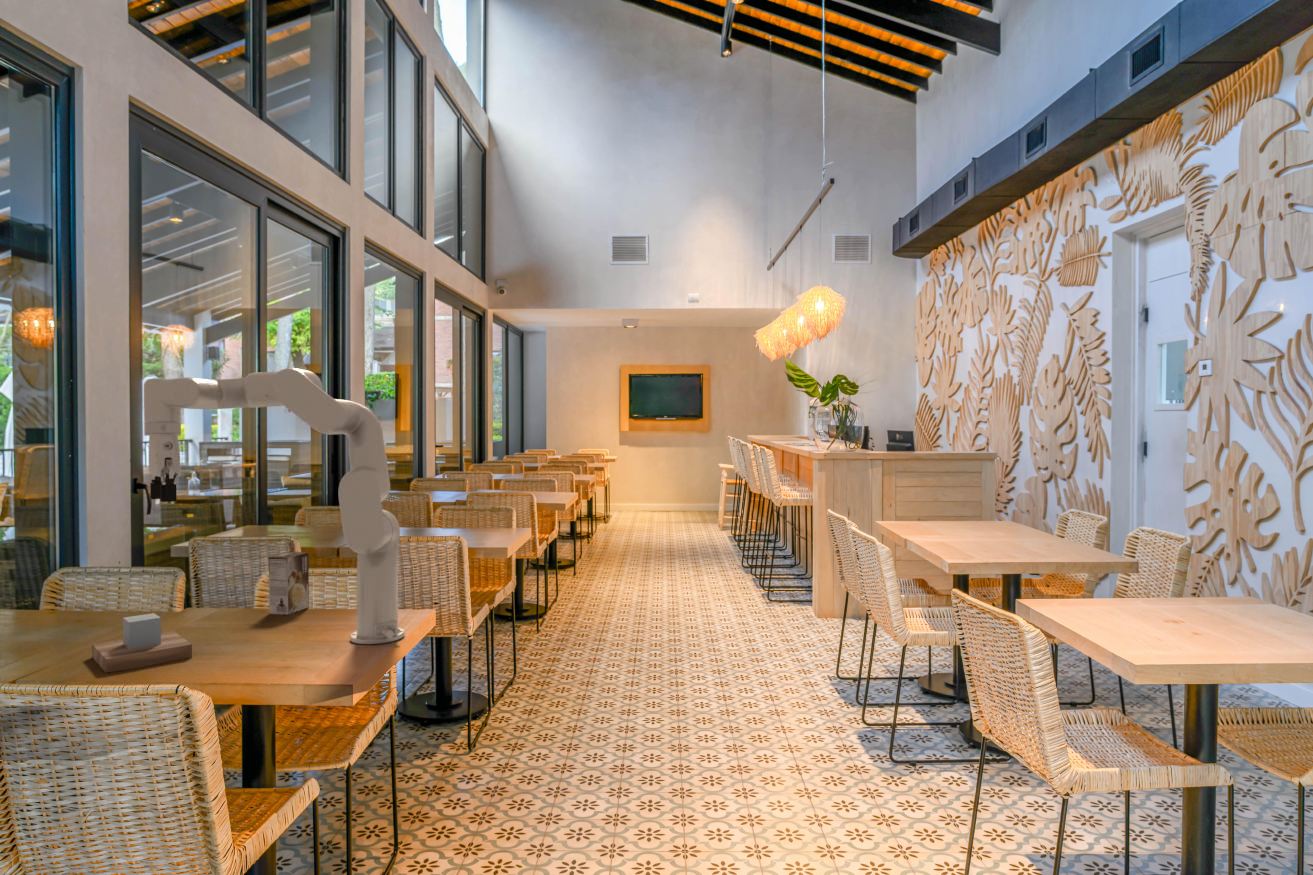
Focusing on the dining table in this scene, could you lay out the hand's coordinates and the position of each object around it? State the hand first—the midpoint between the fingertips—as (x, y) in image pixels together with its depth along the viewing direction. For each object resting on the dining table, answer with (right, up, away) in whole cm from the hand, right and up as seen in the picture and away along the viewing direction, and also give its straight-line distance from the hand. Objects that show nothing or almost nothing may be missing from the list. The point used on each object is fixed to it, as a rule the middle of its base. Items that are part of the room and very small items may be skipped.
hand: (163, 500), depth 188 cm
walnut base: (+4, -35, -13) cm, 37 cm away
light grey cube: (+4, -32, -13) cm, 34 cm away
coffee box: (+16, -34, +32) cm, 49 cm away
